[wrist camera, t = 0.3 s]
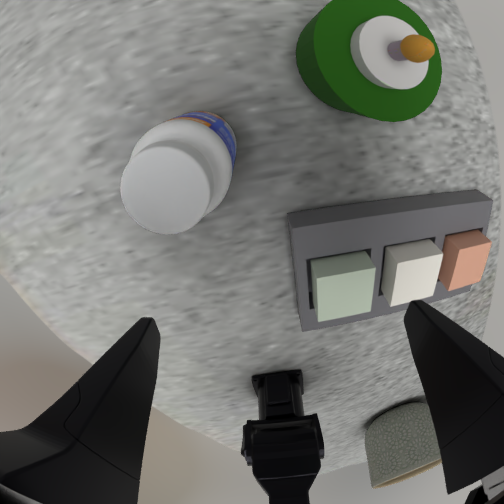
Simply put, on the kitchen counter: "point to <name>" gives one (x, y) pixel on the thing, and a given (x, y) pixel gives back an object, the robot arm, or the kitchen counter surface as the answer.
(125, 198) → the pill bottle
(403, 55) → the candle
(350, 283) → the key sage
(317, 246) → the keypad
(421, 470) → the planter
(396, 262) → the key white
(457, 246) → the key terracotta
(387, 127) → the kitchen counter surface
